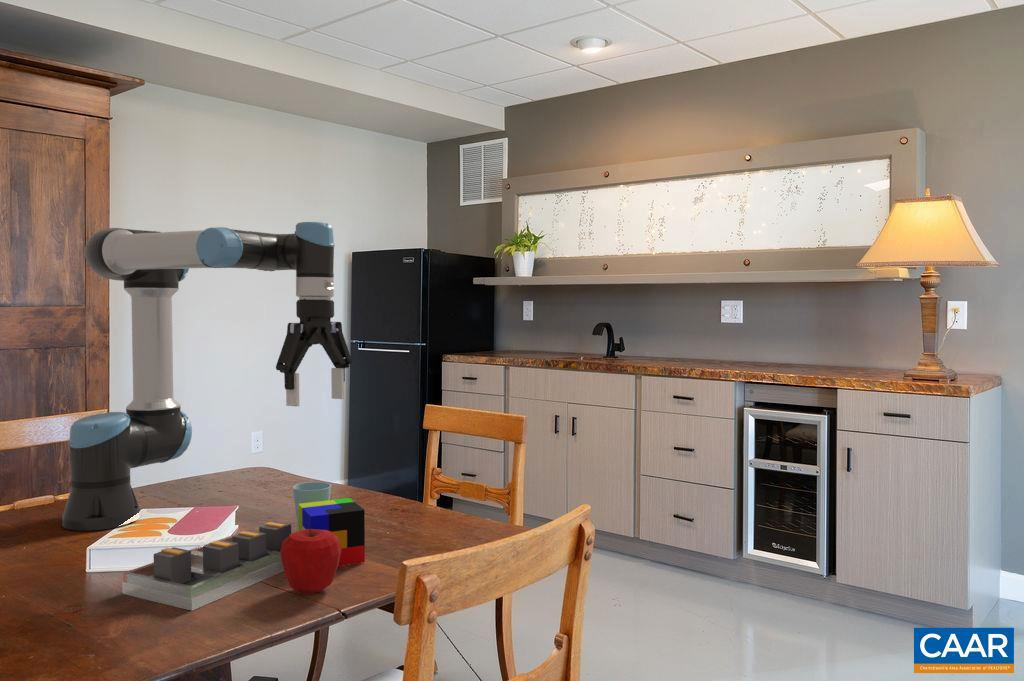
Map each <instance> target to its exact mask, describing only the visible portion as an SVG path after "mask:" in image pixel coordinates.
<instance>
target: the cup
mask: <svg viewBox="0 0 1024 681" xmlns="http://www.w3.org/2000/svg"><path fill="white" fill-rule="evenodd" d="M331 490H332V484H331V483H328V482H322V481H310V482H309V481H307V482H301V483H297V484H295V485H293V487H292V491H293V499H294V506H295V507H294V508H295V515H296V516H295V517H296V523H297V526H298V504H301V503H310V502H318V501H327V500H330V499H331Z"/></svg>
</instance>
